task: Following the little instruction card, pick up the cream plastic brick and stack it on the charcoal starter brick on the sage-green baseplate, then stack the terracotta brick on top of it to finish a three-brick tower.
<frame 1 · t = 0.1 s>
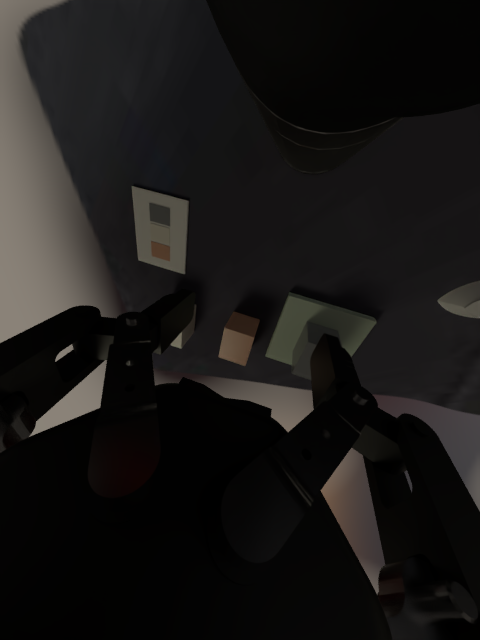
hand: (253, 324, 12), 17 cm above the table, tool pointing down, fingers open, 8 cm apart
instruction card: (161, 233, 29), on the table
brick terracotta: (243, 329, 34), on the table
brick cream: (183, 315, 36), on the table
baseplate: (313, 336, 31), on the table
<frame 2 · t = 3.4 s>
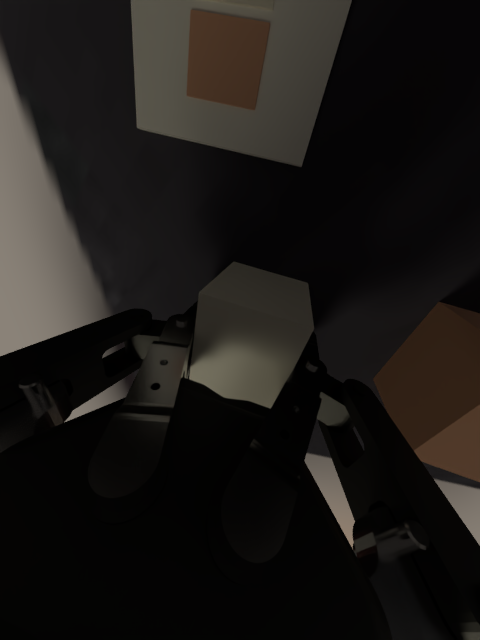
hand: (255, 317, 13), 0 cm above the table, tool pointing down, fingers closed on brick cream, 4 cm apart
brick terracotta: (440, 356, 12), on the table
brick cream: (257, 314, 13), on the table, touching gripper
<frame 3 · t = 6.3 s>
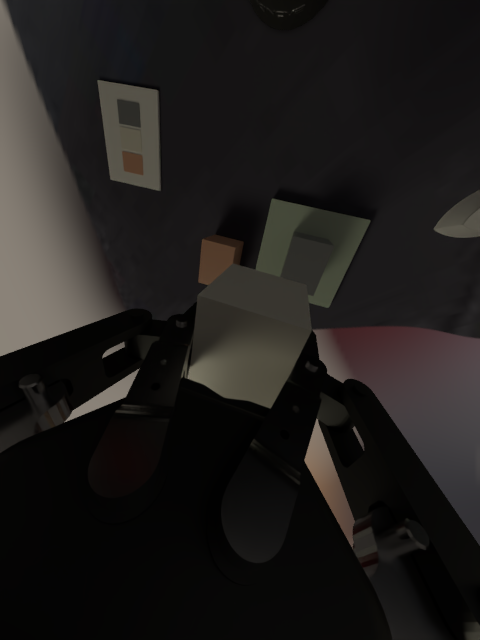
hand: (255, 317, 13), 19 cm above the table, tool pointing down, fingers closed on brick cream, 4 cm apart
instruction card: (132, 140, 27), on the table
brick terracotta: (226, 257, 31), on the table
brick cream: (256, 316, 13), point 19 cm above the table, touching gripper
baseplate: (302, 256, 28), on the table
when the fingers open (8 cm above the table, at t = 9.1 s): brick cream drops 1 cm, resting on baseplate.
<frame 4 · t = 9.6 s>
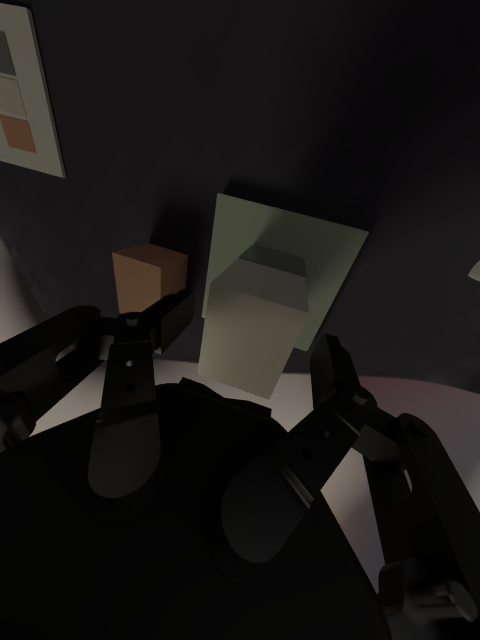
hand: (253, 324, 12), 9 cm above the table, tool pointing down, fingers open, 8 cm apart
instruction card: (12, 98, 17), on the table
brick terracotta: (168, 275, 22), on the table
brick cream: (259, 307, 15), point 6 cm above the table, touching baseplate
baseplate: (270, 279, 20), on the table
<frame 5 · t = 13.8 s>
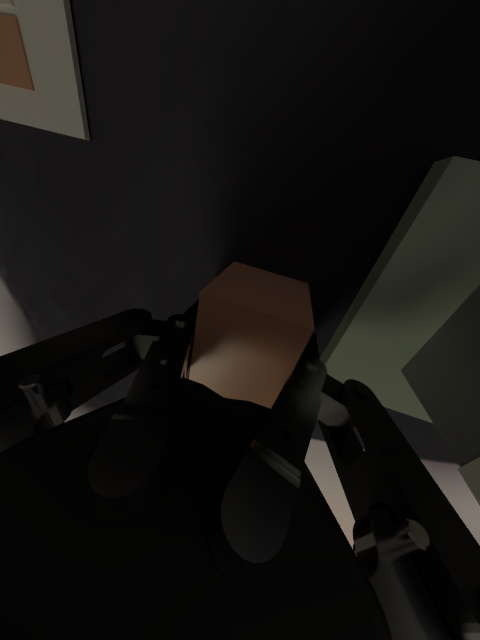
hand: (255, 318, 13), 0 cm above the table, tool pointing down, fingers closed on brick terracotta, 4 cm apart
brick terracotta: (257, 314, 13), on the table, touching gripper
baseplate: (470, 329, 11), on the table
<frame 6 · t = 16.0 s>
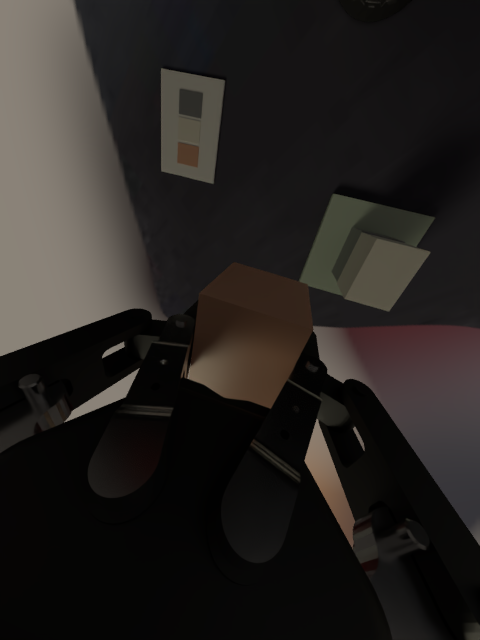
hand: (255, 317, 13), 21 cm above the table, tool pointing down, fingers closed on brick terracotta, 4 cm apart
instruction card: (190, 131, 26), on the table
brick terracotta: (256, 315, 13), point 21 cm above the table, touching gripper
brick cream: (367, 264, 23), point 6 cm above the table, touching baseplate
baseplate: (355, 253, 28), on the table
when the fingers open (13 cm above the table, at t = 18.5 s): brick terracotta drops 1 cm, resting on brick cream.
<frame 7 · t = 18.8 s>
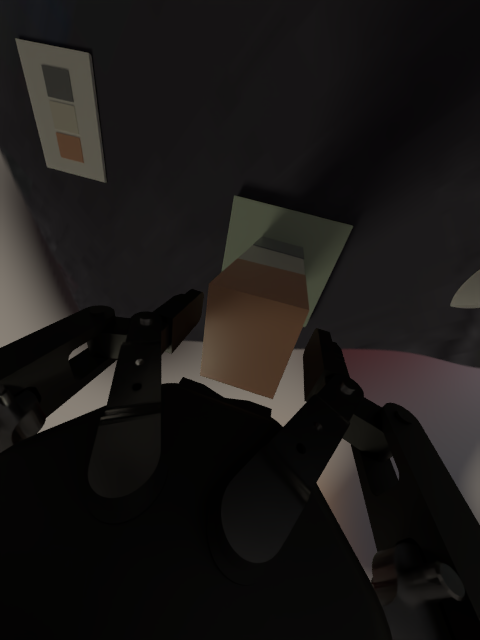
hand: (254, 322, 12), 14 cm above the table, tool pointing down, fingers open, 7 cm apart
instruction card: (67, 119, 22), on the table
brick terracotta: (260, 306, 14), point 11 cm above the table, touching brick cream
brick cream: (267, 284, 19), point 6 cm above the table, touching baseplate, brick terracotta
baseplate: (274, 266, 24), on the table
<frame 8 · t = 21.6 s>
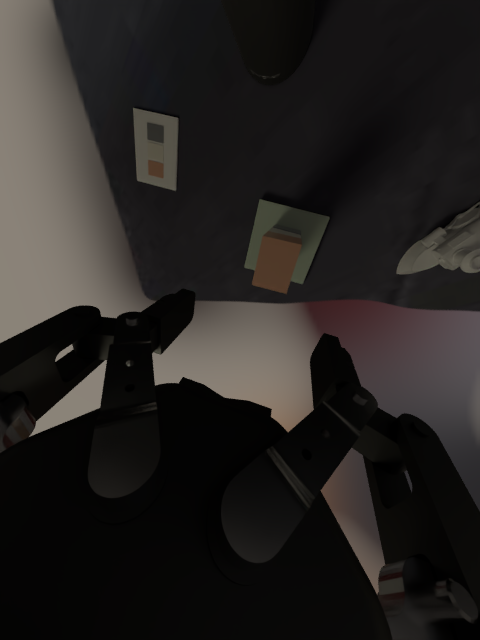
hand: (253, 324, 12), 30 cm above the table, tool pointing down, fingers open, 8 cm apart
instruction card: (156, 152, 35), on the table
brick terracotta: (278, 257, 28), point 11 cm above the table, touching brick cream
baseplate: (283, 243, 38), on the table
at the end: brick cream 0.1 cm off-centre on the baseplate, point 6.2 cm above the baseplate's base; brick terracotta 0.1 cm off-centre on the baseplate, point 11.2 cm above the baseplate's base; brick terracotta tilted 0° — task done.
